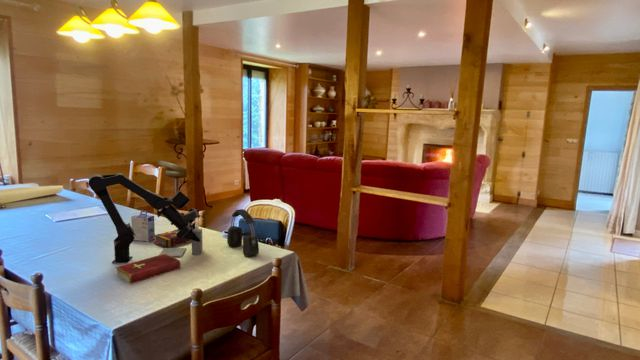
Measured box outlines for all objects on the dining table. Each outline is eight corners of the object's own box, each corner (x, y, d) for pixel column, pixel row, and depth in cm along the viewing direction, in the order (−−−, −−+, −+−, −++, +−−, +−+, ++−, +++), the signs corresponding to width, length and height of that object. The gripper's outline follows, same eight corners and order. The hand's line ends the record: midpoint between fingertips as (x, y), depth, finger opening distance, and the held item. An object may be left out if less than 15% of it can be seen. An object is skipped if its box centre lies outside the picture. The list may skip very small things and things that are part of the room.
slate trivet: (181, 257, 174) (181, 255, 174) (158, 257, 173) (158, 255, 173) (186, 249, 184) (186, 247, 184) (164, 249, 183) (164, 248, 183)
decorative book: (193, 241, 197) (193, 232, 196) (164, 249, 184) (164, 239, 183) (180, 236, 203) (180, 227, 203) (151, 244, 191) (151, 234, 190)
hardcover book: (180, 269, 162) (180, 259, 162) (130, 285, 146) (129, 274, 146) (165, 261, 170) (165, 252, 169) (115, 276, 154) (115, 266, 153)
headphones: (260, 256, 179) (260, 214, 176) (248, 259, 175) (248, 216, 172) (237, 243, 196) (237, 204, 193) (225, 245, 192) (225, 206, 189)
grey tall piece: (200, 254, 178) (200, 227, 176) (191, 254, 178) (191, 227, 176) (202, 251, 183) (202, 224, 180) (193, 251, 182) (193, 224, 180)
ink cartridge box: (155, 238, 198) (154, 211, 196) (149, 241, 193) (147, 213, 191) (138, 236, 200) (137, 209, 198) (131, 240, 195) (130, 212, 193)
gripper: (183, 209, 166) (210, 233, 170) (190, 199, 185) (214, 221, 188) (164, 227, 167) (192, 251, 170) (173, 215, 185) (198, 237, 188)
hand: (200, 239), depth 179 cm, fingers closed on grey tall piece, 4 cm apart
